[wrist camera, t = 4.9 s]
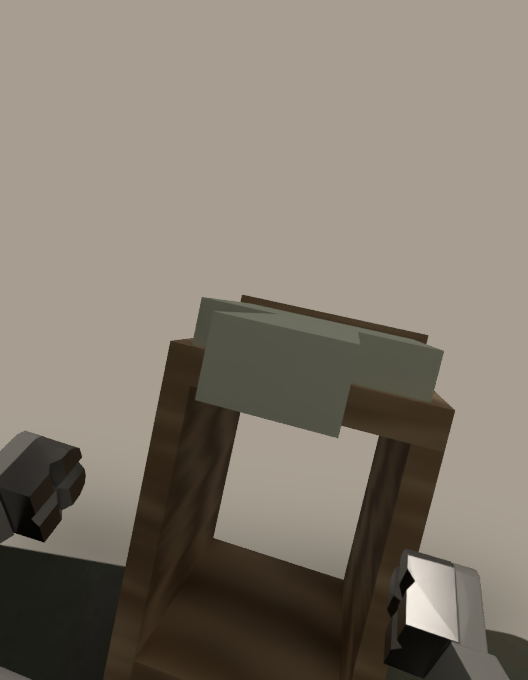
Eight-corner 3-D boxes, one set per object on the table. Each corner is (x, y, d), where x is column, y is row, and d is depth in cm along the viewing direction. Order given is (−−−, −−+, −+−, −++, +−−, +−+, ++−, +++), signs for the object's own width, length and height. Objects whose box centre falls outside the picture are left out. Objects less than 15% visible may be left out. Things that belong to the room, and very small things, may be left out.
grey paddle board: (499, 481, 11) (526, 382, 11) (66, 366, 13) (81, 281, 13) (404, 373, 33) (413, 339, 33) (244, 335, 35) (251, 303, 35)
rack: (326, 905, 23) (471, 346, 21) (80, 794, 26) (182, 282, 23) (337, 686, 37) (425, 334, 34) (176, 628, 39) (246, 295, 37)
